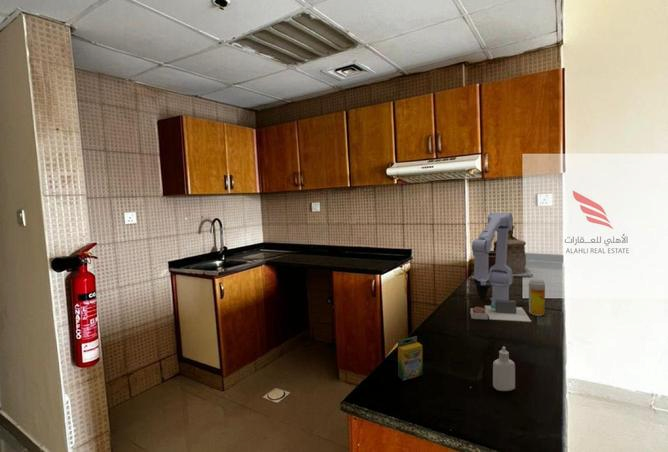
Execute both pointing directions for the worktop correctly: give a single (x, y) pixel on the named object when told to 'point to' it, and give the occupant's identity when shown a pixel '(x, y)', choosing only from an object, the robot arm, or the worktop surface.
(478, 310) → the button
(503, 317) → the white flat slab
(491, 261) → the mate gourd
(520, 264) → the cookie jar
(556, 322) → the worktop surface
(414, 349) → the crayon box
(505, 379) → the eye dropper bottle
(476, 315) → the button housing
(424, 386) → the worktop surface
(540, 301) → the beer glass
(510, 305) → the grey block
